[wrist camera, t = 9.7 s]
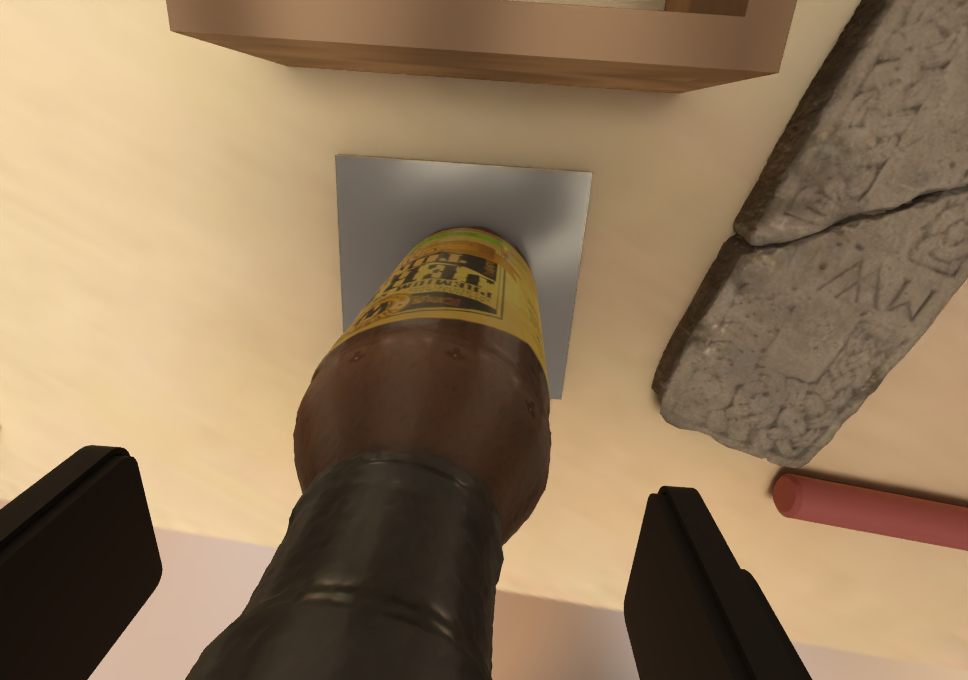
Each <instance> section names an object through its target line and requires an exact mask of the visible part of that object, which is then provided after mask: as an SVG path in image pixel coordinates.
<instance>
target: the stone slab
mask: <svg viewBox="0 0 968 680" xmlns="http://www.w3.org/2000/svg"><path fill="white" fill-rule="evenodd" d="M734 229H735V231H736V232H737V233H738V234H736V235H734V236H732V237H731V238H729V239H728V240H727V241H726V242H725V243H724V244H723V246H722V248H721V250H720V252H719V254H718V256H717V259H716V260H715V261H714V262H713V264H712V266H711V268H710V269H709V271H708V273H707V275H706V276H705V278H704V280H703V281H702V283H701V285H700V287H699V289H698V291H697V293H696V295H695V297H694V298H693V301H692V303H691V304H690V306H689V308H688V310H687V312H686V313H685V315H684V317H683V318H682V320H681V321H680V323H679V325H678V327H677V328H676V330H675V332H674V334H673V335H672V337H671V339H670V341H669V343H668V345H667V347H666V349H665V351H664V352H663V355H662V358H661V360H660V364H659V365H658V367H657V370H656V373H655V377H654V380H653V384H652V389H653V390H654V391H655V392H656V393H657V394H658V395H659V397H660V399H661V401H662V406H661V412H660V414H661V415H662V417H663V418H664V419H665V421H666V422H667V423H669V424H671V425H673V426H675V427H677V428H680V429H686V430H693V431H699V432H701V433H704V434H707V435H710V436H711V437H712V438H713V439H715V440H716V441H717V442H719V443H721V444H723V445H725V446H726V447H728V448H732V449H736V450H739V451H742V452H745V453H747V454H750V455H753V456H756V457H758V458H767V460H768V461H769V462H770V463H772V464H776V465H780V466H785V467H791V468H799V467H802V466H803V465H805V464H807V463H809V462H810V460H811V459H812V458H813V457H814V456H815V455H816V454H817V453H818V452H819V451H820V450H821V449H822V448H823V447H824V446H825V445H827V444H828V443H829V442H830V441H831V440H832V439H833V437H834V435H835V433H836V432H837V431H838V430H839V428H840V427H841V425H842V424H843V423H844V422H845V421H846V420H847V419H848V418H849V417H850V416H851V415H853V414H854V413H856V412H857V411H858V409H859V408H860V407H861V405H862V404H863V402H864V401H865V400H866V398H867V397H868V396H869V395H870V394H872V393H873V392H874V391H875V390H876V389H877V388H878V386H879V385H880V383H881V382H882V381H883V379H884V378H885V376H886V375H887V373H888V372H889V371H890V370H891V369H892V368H893V367H894V366H895V365H896V364H897V363H898V362H899V361H900V360H901V359H902V358H903V357H904V356H905V355H906V354H907V353H908V352H909V350H910V349H911V348H912V347H913V346H914V345H915V343H916V342H917V341H918V340H919V339H920V338H921V336H922V335H923V334H924V333H925V332H926V331H927V329H928V328H929V327H930V326H931V325H932V323H933V322H934V320H935V319H936V317H937V316H938V315H939V313H940V312H941V311H942V309H943V308H944V307H945V306H946V304H947V303H948V302H949V300H950V299H951V298H952V296H953V295H954V294H955V292H956V291H957V290H958V289H959V288H960V286H961V285H962V284H963V283H964V282H965V280H966V279H967V278H968V0H862V1H861V3H860V5H859V6H858V7H857V9H856V11H855V14H854V15H853V17H852V18H851V20H850V22H849V23H848V24H847V25H846V27H845V29H844V31H843V32H842V33H841V35H840V36H839V39H838V41H837V43H836V45H835V47H834V48H833V49H832V51H831V52H830V54H829V55H828V57H827V58H826V60H825V61H824V63H823V66H822V68H821V69H820V70H819V71H818V73H817V74H816V76H815V77H814V79H813V80H812V82H811V84H810V86H809V88H808V89H807V91H806V93H805V95H804V96H803V98H802V99H801V101H800V102H799V105H798V107H797V109H796V111H795V112H794V114H793V116H792V117H791V119H790V121H789V123H788V125H787V127H786V129H785V132H784V134H783V135H782V136H781V137H780V139H779V141H778V142H777V144H776V146H775V148H774V150H773V152H772V154H771V155H770V157H769V158H768V160H767V164H766V166H765V167H764V169H763V171H762V173H761V175H760V177H759V180H758V182H757V183H756V185H755V186H754V188H753V190H752V191H751V193H750V195H749V196H748V198H747V200H746V201H745V203H744V205H743V207H742V209H741V211H740V212H739V214H738V216H737V217H736V219H735V224H734Z"/></svg>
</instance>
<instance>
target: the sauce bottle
mask: <svg viewBox="0 0 968 680" xmlns="http://www.w3.org/2000/svg"><path fill="white" fill-rule="evenodd" d="M549 413H550V391H549V383H548V375H547V368H546V360H545V352H544V343H543V335H542V326H541V319H540V312H539V304H538V296H537V289H536V285H535V281H534V278H533V275H532V273H531V271H530V268H529V265H528V262H527V260H526V259H525V257H524V256H523V255H522V253H521V252H520V250H519V248H518V247H517V246H516V245H515V244H514V243H512V242H511V241H510V240H509V239H507V238H506V237H504V236H502V235H499V234H497V233H495V232H494V231H492V230H490V229H488V228H485V227H479V226H461V227H453V228H447V229H442V230H439V231H436V232H435V233H433V234H432V235H430V236H429V237H427V238H426V239H424V240H423V241H421V242H420V243H419V244H417V245H416V246H415V247H414V248H413V249H412V250H411V251H410V252H409V253H408V254H407V255H406V257H405V258H404V259H403V260H402V262H401V263H400V264H399V265H398V266H397V268H396V269H395V270H394V271H393V273H392V274H391V275H390V276H389V278H388V279H387V280H386V281H385V283H384V284H383V285H381V286H380V288H379V290H378V291H377V292H376V293H375V295H374V296H373V298H372V299H371V300H370V301H369V302H368V303H367V305H366V306H365V307H364V308H363V309H362V311H361V312H360V314H359V315H358V316H357V318H356V319H355V320H354V321H353V323H352V324H351V325H350V326H349V328H348V329H347V330H346V331H345V332H344V334H343V335H342V336H341V337H340V338H339V340H338V341H337V342H336V343H335V344H334V346H333V347H332V348H331V350H330V351H329V352H328V354H327V355H326V356H325V357H324V359H323V360H322V361H321V363H320V364H319V365H318V367H317V369H316V370H315V372H314V374H313V377H312V380H311V384H310V386H309V387H308V389H307V391H306V393H305V395H304V397H303V399H302V401H301V404H300V406H299V409H298V412H297V418H296V425H295V430H294V434H293V437H294V454H295V458H294V462H295V466H296V471H297V475H298V479H299V482H300V486H301V490H302V494H303V495H302V496H301V498H300V499H299V500H298V502H297V504H296V505H295V507H294V508H293V510H292V513H291V516H290V518H289V525H288V530H287V533H286V535H285V537H284V539H283V541H282V543H281V544H280V545H279V547H278V549H277V551H276V553H275V555H274V557H273V559H272V561H271V563H270V564H269V566H268V567H267V568H266V570H265V572H264V574H263V576H262V578H261V580H260V582H259V584H258V586H257V587H256V589H255V590H254V592H253V594H252V596H251V598H250V601H249V603H248V605H247V606H246V608H245V609H244V611H243V612H242V614H241V615H240V617H238V618H237V619H236V620H235V621H234V622H233V623H231V624H230V625H229V626H228V627H227V628H226V629H225V630H224V631H223V632H222V633H221V634H219V635H218V636H217V637H216V638H215V639H214V640H213V641H212V642H211V643H210V644H209V645H208V646H207V647H206V648H205V649H204V650H203V652H202V653H201V655H200V657H199V659H198V661H197V662H196V664H195V665H194V666H193V668H192V669H191V671H190V673H189V674H188V676H187V677H186V679H185V680H492V677H491V671H492V661H491V659H492V636H493V626H492V625H493V619H494V604H495V594H496V584H497V583H498V581H499V576H500V572H501V567H502V564H503V560H504V557H503V551H502V546H503V545H504V544H505V543H506V542H507V541H508V540H509V539H510V538H511V536H512V535H514V534H515V533H516V532H517V531H518V529H519V528H520V527H521V526H522V524H523V523H524V522H525V521H526V520H527V519H528V518H529V516H530V515H531V513H532V512H533V510H534V509H535V507H536V505H537V503H538V501H539V499H540V497H541V495H542V494H543V492H544V491H545V488H546V484H547V479H548V473H549V462H550V448H551V432H550V428H549V420H548V418H549Z"/></svg>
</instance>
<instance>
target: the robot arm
mask: <svg viewBox="0 0 968 680" xmlns="http://www.w3.org/2000/svg"><path fill="white" fill-rule="evenodd" d="M161 575H162V563H161V559H160V555H159V550H158V546H157V542H156V538H155V534H154V530H153V525H152V521H151V517H150V513H149V509H148V505H147V500H146V496H145V492H144V488H143V484H142V480H141V476H140V471H139V467H138V463H137V461H136V459H135V458H134V457H131V456H130V454H129V452H128V451H127V450H126V449H125V448H121V447H109V446H95V445H90V446H85V447H83V448H81V449H80V450H78V451H77V452H76V453H74V454H73V455H72V456H70V457H69V458H68V459H66V460H65V461H64V462H62V463H61V464H60V465H58V466H57V467H56V468H54V469H53V470H52V471H51V472H49V473H48V474H47V475H45V476H44V477H43V478H41V479H40V480H39V481H37V482H36V483H35V484H33V485H32V486H31V487H29V488H28V489H27V490H25V491H24V492H23V493H22V494H20V495H19V496H18V497H16V498H15V499H14V500H12V501H11V502H10V503H8V504H7V505H6V506H4V507H3V508H2V509H0V680H87V679H88V678H89V677H90V675H91V674H92V673H93V671H94V670H95V669H96V667H97V666H98V665H99V663H100V662H101V661H102V659H103V658H104V657H105V655H106V654H107V653H108V651H109V650H110V649H111V647H112V646H113V645H114V643H115V642H116V641H117V639H118V638H119V637H120V635H121V634H122V633H123V632H124V630H125V629H126V628H127V626H128V625H129V624H130V622H131V621H132V619H133V618H134V617H135V616H136V614H137V613H138V612H139V610H140V609H141V608H142V606H143V605H144V604H145V602H146V601H147V600H148V598H149V597H150V596H151V594H152V593H153V591H154V590H155V588H156V587H157V586H158V584H159V581H160V579H161ZM624 616H625V623H626V627H627V631H628V634H629V639H630V643H631V646H632V650H633V654H634V658H635V662H636V666H637V670H638V674H639V678H640V680H812V678H811V677H810V675H809V673H808V671H807V670H806V668H805V666H804V664H803V662H802V661H801V659H800V657H799V655H798V654H797V652H796V650H795V649H794V646H793V645H792V643H791V641H790V639H789V638H788V636H787V634H786V632H785V631H784V629H783V627H782V625H781V624H780V622H779V620H778V618H777V617H776V615H775V613H774V611H773V610H772V608H771V606H770V604H769V603H768V601H767V599H766V597H765V595H764V594H763V592H762V590H761V588H760V587H759V585H758V583H757V582H756V580H755V579H754V577H753V576H752V575H751V574H750V573H749V572H748V571H746V570H745V569H740V567H739V565H738V563H737V561H736V559H735V558H734V556H733V554H732V552H731V550H730V548H729V547H728V545H727V543H726V541H725V539H724V538H723V536H722V534H721V532H720V530H719V528H718V527H717V525H716V523H715V521H714V519H713V517H712V516H711V514H710V512H709V510H708V508H707V507H706V505H705V503H704V501H703V499H702V497H701V496H700V494H699V492H698V491H697V490H696V489H694V488H686V487H672V486H662V487H661V488H660V489H659V492H658V494H654V493H652V494H650V496H649V498H648V501H647V505H646V510H645V514H644V518H643V522H642V527H641V531H640V535H639V540H638V544H637V548H636V552H635V557H634V561H633V565H632V569H631V574H630V578H629V582H628V586H627V591H626V595H625V600H624Z"/></svg>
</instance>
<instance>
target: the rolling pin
mask: <svg viewBox="0 0 968 680" xmlns="http://www.w3.org/2000/svg"><path fill="white" fill-rule="evenodd" d="M773 500H774V503H775V505H776V507H777V509H778V511H779V512H780V513H781V514H782V515H783V516H785V517H788V518H794V519H799V520H804V521H810V522H815V523H821V524H826V525H831V526H837V527H842V528H848V529H853V530H858V531H864V532H869V533H875V534H880V535H885V536H891V537H896V538H902V539H907V540H912V541H918V542H923V543H928V544H934V545H939V546H945V547H950V548H955V549H961V550H966V551H968V508H967V507H961V506H956V505H951V504H946V503H940V502H935V501H930V500H925V499H919V498H914V497H909V496H904V495H898V494H893V493H888V492H882V491H877V490H872V489H867V488H861V487H856V486H851V485H846V484H840V483H835V482H830V481H825V480H819V479H814V478H809V477H804V476H798V475H793V474H785V475H783V476H781V477H780V478H779V480H778V481H777V482H776V484H775V486H774V489H773Z"/></svg>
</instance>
